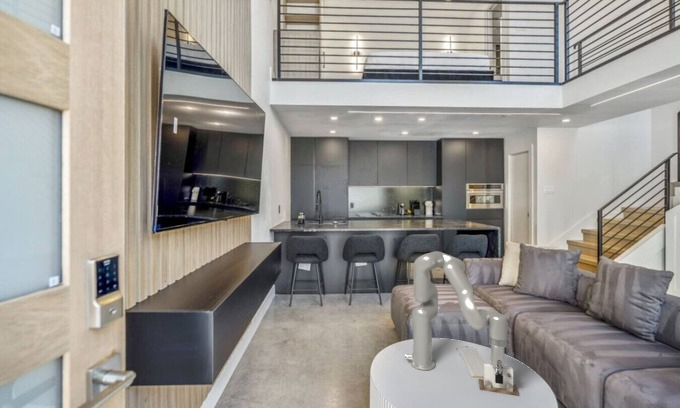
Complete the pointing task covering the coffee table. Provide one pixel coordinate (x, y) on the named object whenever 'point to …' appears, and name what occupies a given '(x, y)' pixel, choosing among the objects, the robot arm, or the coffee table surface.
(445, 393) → the coffee table surface
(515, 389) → the hinge mount
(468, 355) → the baseboard molding
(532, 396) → the coffee table surface
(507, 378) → the cabinet door
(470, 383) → the coffee table surface
